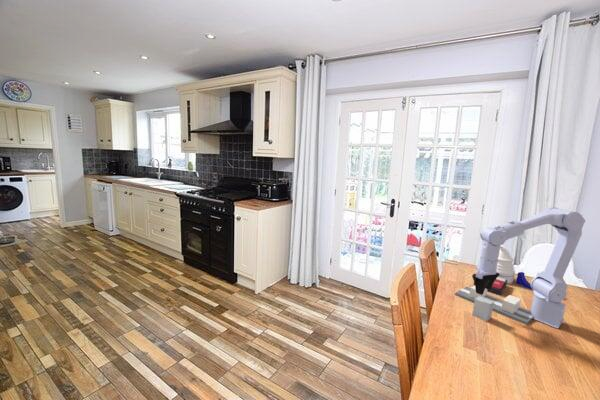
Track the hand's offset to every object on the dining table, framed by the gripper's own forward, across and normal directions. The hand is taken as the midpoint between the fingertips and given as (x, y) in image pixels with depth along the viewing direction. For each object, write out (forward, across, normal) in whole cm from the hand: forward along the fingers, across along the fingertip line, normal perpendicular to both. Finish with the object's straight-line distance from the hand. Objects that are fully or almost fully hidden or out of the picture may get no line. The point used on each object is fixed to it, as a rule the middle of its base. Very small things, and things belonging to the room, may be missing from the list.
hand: (483, 291), depth 107 cm
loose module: (+10, +2, +2) cm, 10 cm away
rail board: (+10, -13, 0) cm, 16 cm away
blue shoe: (+10, -50, +5) cm, 51 cm away
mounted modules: (+8, -13, 0) cm, 15 cm away
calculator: (+10, -32, -7) cm, 34 cm away
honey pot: (+10, -48, -9) cm, 50 cm away
